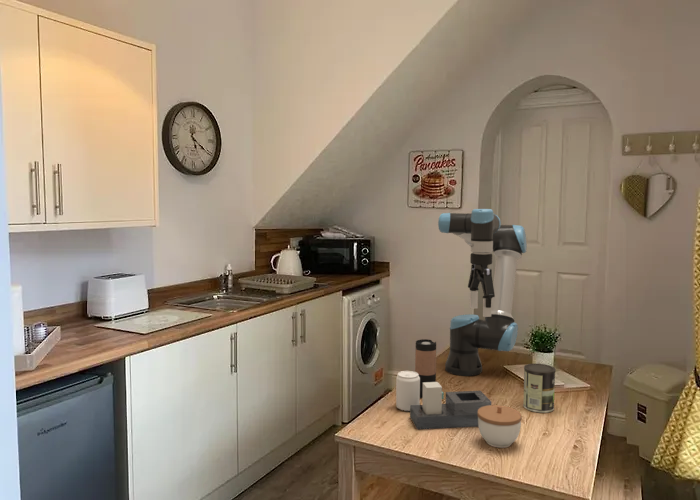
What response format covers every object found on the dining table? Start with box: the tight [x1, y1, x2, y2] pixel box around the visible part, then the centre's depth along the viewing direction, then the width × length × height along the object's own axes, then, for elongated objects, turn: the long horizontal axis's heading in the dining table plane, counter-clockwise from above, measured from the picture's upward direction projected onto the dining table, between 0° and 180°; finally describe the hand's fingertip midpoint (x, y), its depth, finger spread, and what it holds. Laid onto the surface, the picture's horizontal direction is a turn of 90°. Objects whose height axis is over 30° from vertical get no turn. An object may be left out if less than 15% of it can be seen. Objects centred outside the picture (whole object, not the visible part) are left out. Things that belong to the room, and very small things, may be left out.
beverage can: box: [395, 370, 421, 412], centre depth 191 cm, size 8×8×12 cm
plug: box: [421, 381, 445, 415], centre depth 178 cm, size 5×6×11 cm
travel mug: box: [414, 338, 437, 399], centre depth 202 cm, size 8×8×20 cm
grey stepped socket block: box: [409, 390, 492, 431], centre depth 179 cm, size 10×24×8 cm, turn 97°
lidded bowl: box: [477, 404, 523, 449], centre depth 164 cm, size 13×13×11 cm
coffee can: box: [522, 363, 556, 414], centre depth 191 cm, size 10×10×14 cm
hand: (480, 312), depth 196 cm, fingers open, 13 cm apart
